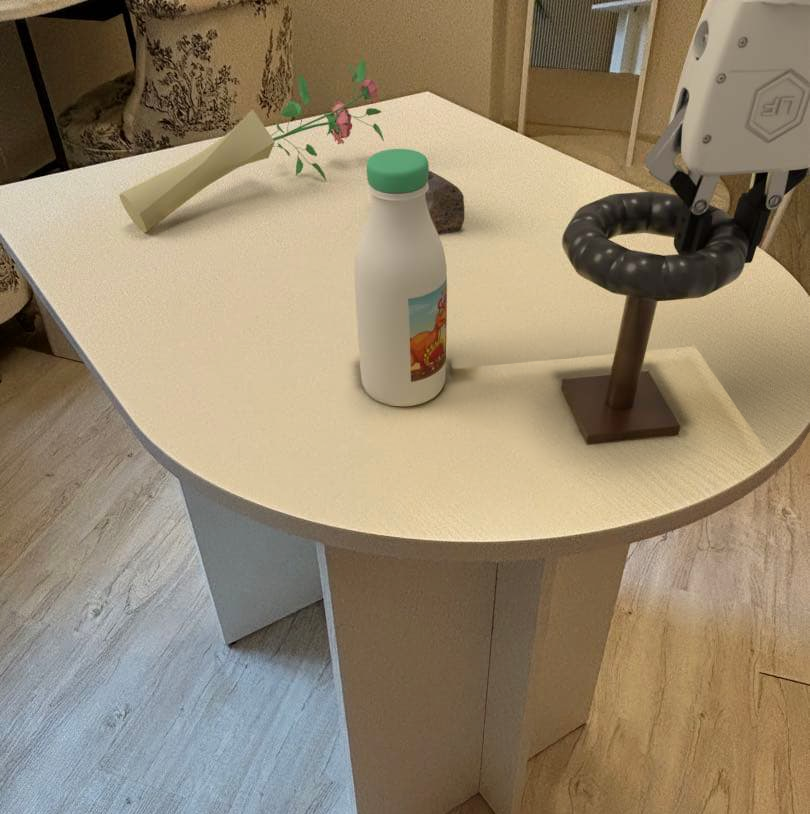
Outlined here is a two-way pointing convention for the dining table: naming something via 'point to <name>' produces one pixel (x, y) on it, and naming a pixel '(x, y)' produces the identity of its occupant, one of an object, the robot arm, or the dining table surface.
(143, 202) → the flower vase
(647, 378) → the holder
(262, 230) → the dining table surface
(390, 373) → the milk bottle
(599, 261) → the ring
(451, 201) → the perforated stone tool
